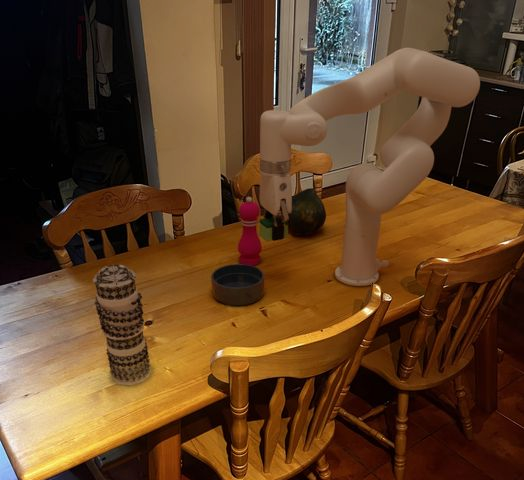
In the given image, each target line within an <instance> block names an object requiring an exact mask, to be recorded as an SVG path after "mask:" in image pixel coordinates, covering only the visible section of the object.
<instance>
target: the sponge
mask: <svg viewBox="0 0 524 480" xmlns="http://www.w3.org/2000/svg"><path fill="white" fill-rule="evenodd" d="M279 218H281V216H277V220H278V219H279ZM272 226H274V222H273V217H271V218H260V219H259V235H258V236H260V237H261V238H262V239H263V240H264V242H271V241H272V242H273V240H272ZM288 235H289V229H288V221H286V222H285V225H284V239H288V237H289V236H288Z"/></svg>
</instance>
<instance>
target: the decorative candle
mask: <svg viewBox="0 0 524 480" xmlns="http://www.w3.org/2000/svg"><path fill="white" fill-rule="evenodd" d="M136 278H137V273H135V271H134V270H132V269H130V268H128V267H127V265H123V264H109V265H106V266H104V267H101V268H100V269H99V270H98V271H97V273H96V274H95V275H94V276H93V279H92V282H93V283H94V286H95V290H96V297H95V301H94V305H95V308H96V311H97V312H96V314H97V316H98V320H99V324H100V329H101V331H102V334H103V336H104V337H105V338H106V355H107V359H108V367H109V369H110V374H111V378H112V380H113V382H115V383H116V384H119V385H121V386H134V385H138V384H141V383H143V382H144V381H146V380H147V379H148V378H149V377H150V375H151V373H152V372H151V371H152V369H151V364H150V358H149V357H150V356H149V351H148V350H149V349H148V343H147V342H146V338H145V337H146V336H145V335H144V329H145V319H144V318H143V315H144V310H143V307H144V305H143V303H142V302H141V301H142V299H143V296H142V294H141V293H140V292H138V287H137V285H136V280H135V279H136Z"/></svg>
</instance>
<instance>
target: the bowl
mask: <svg viewBox="0 0 524 480" xmlns="http://www.w3.org/2000/svg"><path fill="white" fill-rule="evenodd" d="M210 280H211V281H210V283H211V295H212V297H213V298H214V299H215V300H217V301H218V302H219V303H221V304H224V305H227V306H233V307H240V306H241V307H242V306H243V307H244V306H248V305H251V304H255V303H256V302H258V301H259V300H261V298H263V297H264V295H265V273H264V271H263V270H262V269H261V268H259V267H257V266H256V265H253V266H252V265H246V264H241V263H232V264H226V265H223V266H219V267H218V268H216V269H214V271H212V273H211V275H210Z"/></svg>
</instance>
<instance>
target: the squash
mask: <svg viewBox="0 0 524 480" xmlns="http://www.w3.org/2000/svg"><path fill="white" fill-rule="evenodd" d="M288 217H289V219H288V220H287V221H288V230H291V233H292V234H293V235H294V236H301V235H303V236H309V235H311V234H312V233H317V232H319V231H320V230H321V228H322V227H323V226H324V225H325V222H326V220H327V214H326V208H325V204H324V202H323V201H322V199H321V197H320V196H319V195H318V193H317V191H316V190H315V189H314V187H313V188H312V187H311V188H310V187H309V188H305V189H303V190H301V191H299V192H297V193H296V194H295V195H292V211H291V213H290V214H288Z"/></svg>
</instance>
